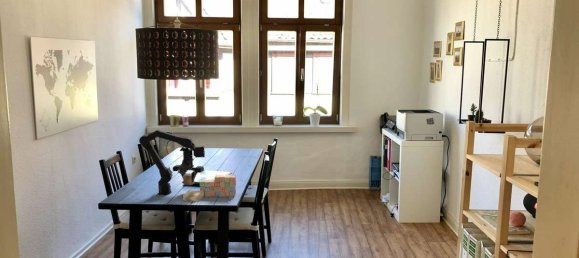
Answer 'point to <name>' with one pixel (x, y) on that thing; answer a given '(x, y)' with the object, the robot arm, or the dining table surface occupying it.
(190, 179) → the walnut cube
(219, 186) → the stack of blocks
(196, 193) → the birch block
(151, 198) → the dining table surface
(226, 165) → the dining table surface
